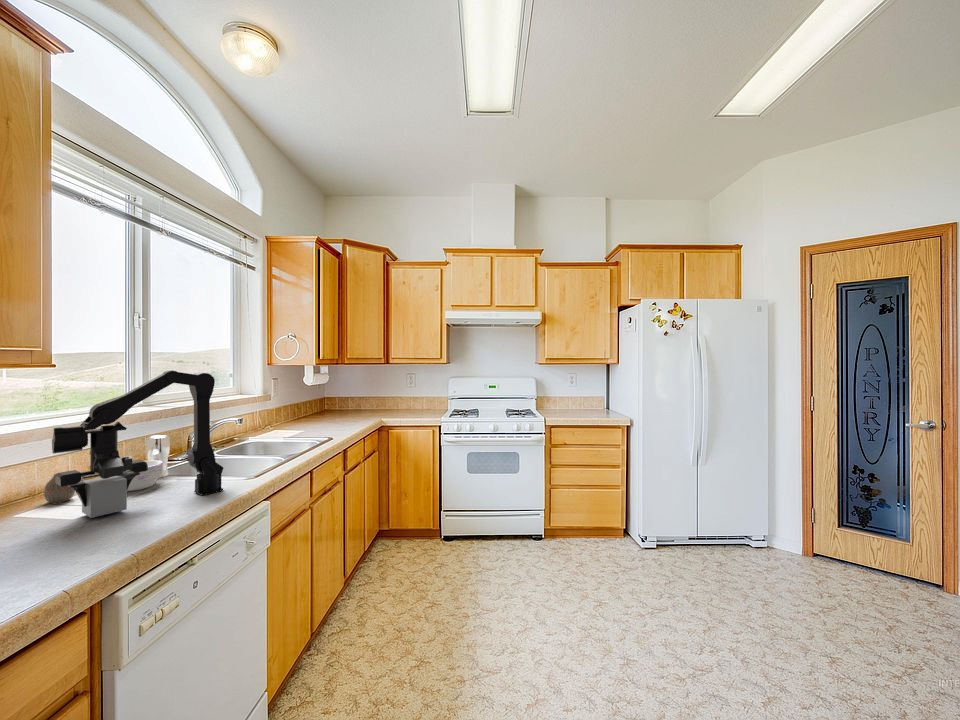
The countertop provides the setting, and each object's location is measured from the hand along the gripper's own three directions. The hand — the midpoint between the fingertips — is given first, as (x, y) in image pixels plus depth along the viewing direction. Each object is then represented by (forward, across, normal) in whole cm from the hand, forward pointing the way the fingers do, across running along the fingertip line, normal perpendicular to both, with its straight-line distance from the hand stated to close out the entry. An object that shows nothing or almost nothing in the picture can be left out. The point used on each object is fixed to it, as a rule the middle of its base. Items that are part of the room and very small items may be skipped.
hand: (104, 502), depth 117 cm
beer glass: (+4, +24, +33) cm, 41 cm away
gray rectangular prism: (+2, 0, 0) cm, 2 cm away
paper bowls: (+4, +14, +23) cm, 27 cm away
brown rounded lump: (+4, -4, +25) cm, 26 cm away
